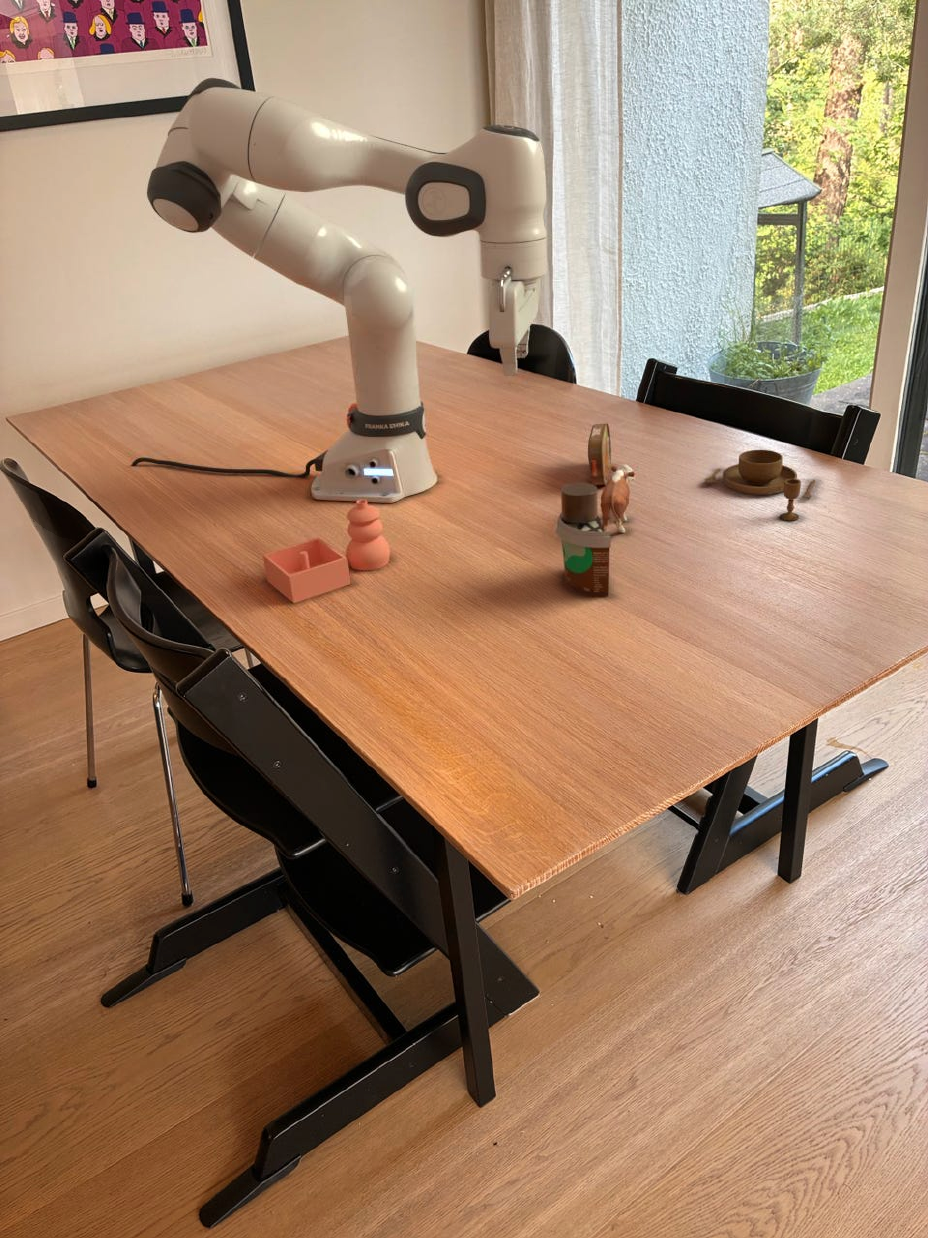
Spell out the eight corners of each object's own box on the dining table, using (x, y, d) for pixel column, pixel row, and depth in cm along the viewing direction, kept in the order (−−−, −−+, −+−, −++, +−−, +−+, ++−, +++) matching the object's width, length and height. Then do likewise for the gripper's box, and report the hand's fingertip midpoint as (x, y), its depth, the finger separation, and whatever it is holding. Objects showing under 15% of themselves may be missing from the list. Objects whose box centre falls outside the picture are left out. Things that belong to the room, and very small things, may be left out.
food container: (551, 566, 145) (548, 502, 140) (592, 562, 145) (592, 498, 140) (565, 605, 134) (563, 537, 129) (610, 600, 134) (610, 532, 130)
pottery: (293, 603, 141) (282, 539, 136) (267, 580, 148) (255, 519, 143) (403, 566, 149) (397, 505, 144) (373, 546, 156) (366, 487, 151)
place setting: (820, 476, 168) (823, 442, 165) (801, 522, 152) (804, 485, 149) (715, 467, 175) (717, 435, 172) (687, 510, 159) (688, 475, 156)
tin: (605, 492, 168) (605, 444, 164) (586, 492, 169) (585, 444, 165) (612, 461, 181) (612, 416, 177) (594, 461, 182) (594, 416, 178)
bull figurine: (638, 508, 161) (639, 460, 157) (622, 543, 150) (622, 492, 146) (611, 507, 163) (611, 459, 159) (593, 540, 152) (593, 490, 148)
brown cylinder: (561, 524, 133) (561, 496, 131) (561, 510, 137) (561, 483, 135) (598, 523, 133) (597, 495, 131) (596, 509, 137) (596, 481, 135)
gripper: (525, 275, 123) (527, 386, 129) (547, 248, 140) (547, 347, 147) (475, 276, 124) (479, 386, 130) (502, 249, 141) (505, 347, 148)
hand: (515, 365), depth 139 cm, fingers open, 8 cm apart
